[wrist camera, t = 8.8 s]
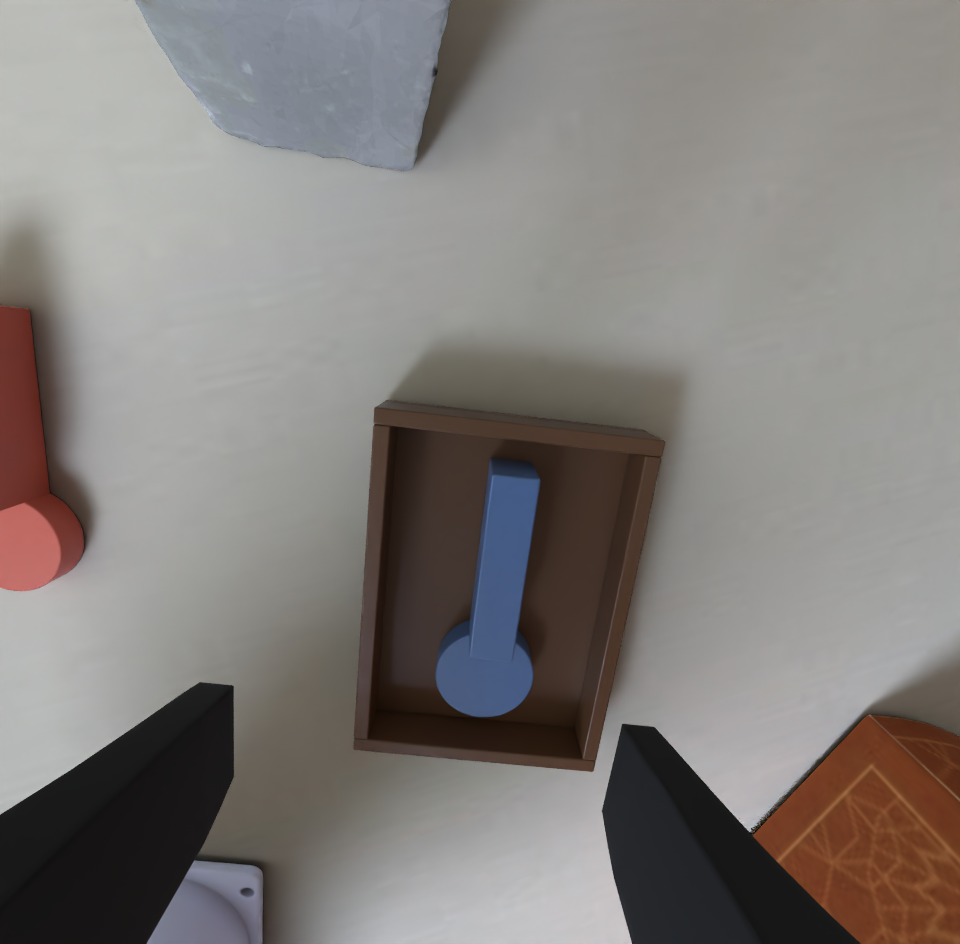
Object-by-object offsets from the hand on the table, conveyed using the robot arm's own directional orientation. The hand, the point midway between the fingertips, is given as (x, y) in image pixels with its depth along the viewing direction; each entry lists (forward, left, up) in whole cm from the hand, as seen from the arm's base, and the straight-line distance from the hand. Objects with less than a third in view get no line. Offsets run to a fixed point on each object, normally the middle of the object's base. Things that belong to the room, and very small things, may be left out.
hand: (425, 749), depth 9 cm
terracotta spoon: (+2, +14, -8) cm, 17 cm away
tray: (-1, -2, -8) cm, 9 cm away
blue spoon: (-1, -2, -8) cm, 8 cm away
